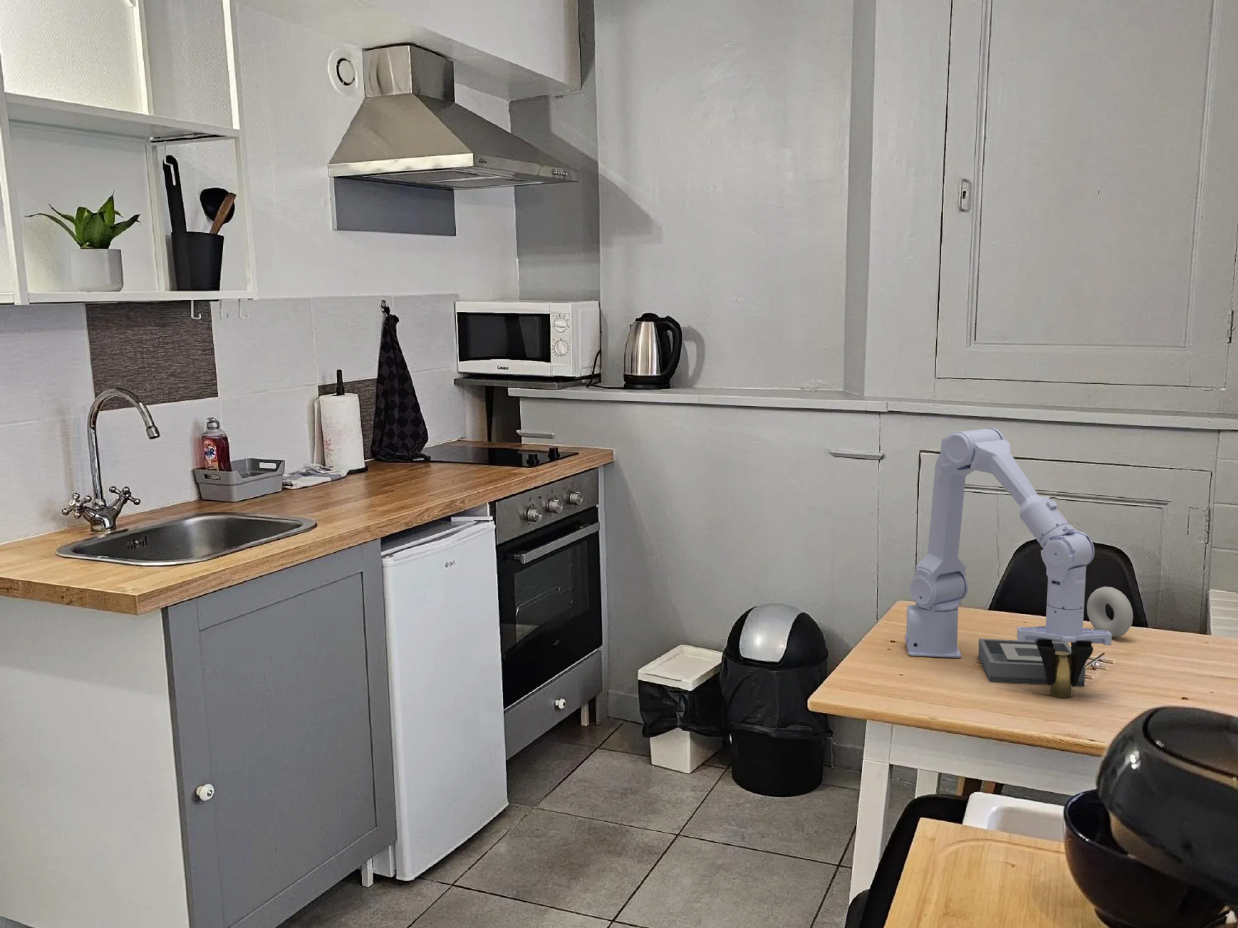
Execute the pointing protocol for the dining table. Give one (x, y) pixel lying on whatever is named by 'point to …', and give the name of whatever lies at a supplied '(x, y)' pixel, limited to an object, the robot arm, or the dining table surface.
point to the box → (1016, 664)
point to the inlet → (1019, 653)
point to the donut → (1119, 606)
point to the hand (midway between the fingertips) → (1061, 683)
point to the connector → (1062, 674)
